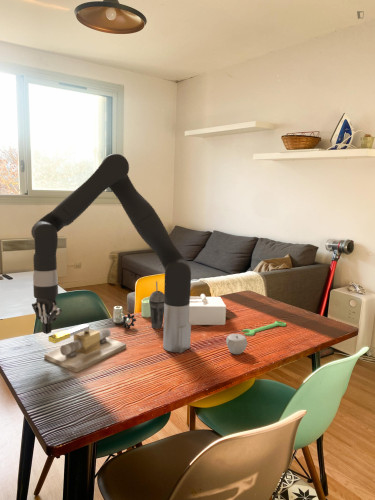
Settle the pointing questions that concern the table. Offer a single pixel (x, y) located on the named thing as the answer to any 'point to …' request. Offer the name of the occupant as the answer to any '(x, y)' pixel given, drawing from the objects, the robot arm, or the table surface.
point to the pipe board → (85, 358)
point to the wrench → (263, 328)
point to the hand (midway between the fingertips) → (47, 332)
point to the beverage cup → (156, 308)
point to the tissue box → (207, 311)
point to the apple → (236, 343)
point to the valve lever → (68, 333)
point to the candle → (146, 307)
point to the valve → (122, 317)
